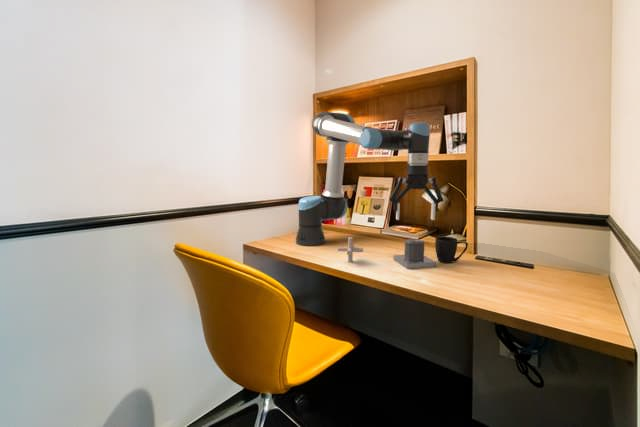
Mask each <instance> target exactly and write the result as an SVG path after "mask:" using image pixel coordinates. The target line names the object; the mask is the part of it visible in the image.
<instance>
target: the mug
mask: <svg viewBox="0 0 640 427" xmlns="http://www.w3.org/2000/svg"><path fill="white" fill-rule="evenodd" d="M458 244H465V247H464V248H463V251H462V252H461V253H460V254H459V255H458V256H456V253H457V251H458V250H457V249H458ZM468 244H469V243H468V242H467V241H458V239H457V238H455V237H452V236H437V237H435V244H434V245H435V254H436V258H437V262H439V263H440V264H447V265H448V264H449V265H450V264H452V263H455V262H457V261H458V260H460V258H461V257H462V255H464V253H465V252H466V251H467V250H468V247H469V245H468Z"/></svg>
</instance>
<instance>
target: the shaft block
mask: <svg viewBox="0 0 640 427" xmlns="http://www.w3.org/2000/svg"><path fill="white" fill-rule="evenodd" d="M404 255H405V254H395V255H394V254H393V257H392V258H393V261H394V262H395V263H398V264H399V265H401V266H402V267H403V268H405V269H407V270H411V269H412V270H413V269H424V268H436V266H437V261H435V260H433V259H431V258H430V257H427V256H426V255H424V259H423V260H421V261H411V260H407V259H405V258H404Z"/></svg>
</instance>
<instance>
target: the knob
mask: <svg viewBox="0 0 640 427" xmlns="http://www.w3.org/2000/svg"><path fill="white" fill-rule="evenodd" d="M403 255H404V258H405V259H407V260H411V261H421V260H423V259H424V256H425V241H424V240H421V239H417V238H410V239H409V238H408V239H405V242H404V254H403Z"/></svg>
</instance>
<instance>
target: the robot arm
mask: <svg viewBox="0 0 640 427" xmlns="http://www.w3.org/2000/svg"><path fill="white" fill-rule="evenodd" d="M311 128H312V131H313V132H314V133H315V135H317V136H319V137H324V138H326V142H327V143H328V152H327V164H326V175H325V177H326V178H325V185H324V186H325V188H324V191H323V192H322V193H321V196H320V195H311V196H305V197H301V198H300V199H299V200H298V207H297V208H298V230H297V232H296V233H297V234H296V237H295V243H296V245H299V246H306V247H307V246H309V247H311V246H313V247H314V246H321V245H324V244H325V243H326V236H325V233H324V230H323V226H322V225H323V224H322V221H330V220H337V219H342V218H343V217H344V216H346V214H347V211H348V202H347V200H346V198H345V195H344V194H343V190H342V189H343V188H342V187H343V180H344V179H343V178H344V170H345V168H344V167H345V159H346V150H347V149H346V147H347V145H349V143H354V144H356V145H359V146H361V147H362V148H363V149H367V150H387V151H401V150H407V164H408V165H407V167H406V168H407V169H406V170H407V172H406V173H407V174H406V178H405V177H400V176H399V177H398V179H397V184H396V186H395V188H394V189H393V191H392V192H391V195H390V197H389V200H388V201H390V202H391V203H393V211H394V212H395V220H396V221H400V213H401V212H400V211H401V210H400V208H401V207H400V206H401V203H400V201H401V200H402V198H403V197H405V195H406V194H407V193H408V192H409V191H410V190H423V191H424V192H425V193H426V194H427V195H428V197H429V198H430V199H431V201H433V202H431V205H430V206H431V210H430V220H431V221H435V220H436V212H438V210H439V203H442V202H444V198H443V195H442V194H441V191H440V189H439V186H438V184H437V178H436V177H433V176H432V177H428V172H429V166H428V165H427V164H429V149H430V148H429V146H430V138H431V134H430V133H431V132H430V131H431V130H430V129H431V128H430V124H429V123H428V122H413V123H410V124H409V125H408V129H404V130H393V129H384V128H383V129H382V128H381V129H380V128H375V127H370V126H367V125H362V124H358V123H356V121H355V119H354V118H353V117H352V116H351V115H350V114H346V113H343V112H342V113H340V112H332V111H331V112H330V111H320V112H318V113H317V114H316V115H315V116H314V117H313V118H312V121H311ZM404 183H406V184H407V185H406V186H405V187H404V188H403V190H402V191H401V192H400V193H399V191H400V189H401V187H402V185H403V184H404ZM428 183H429V184H431V187H432V189H433V191H434V193H435V195H434V194H433V192H432V191H431V190H430V188H429V186H428V185H427V184H428ZM398 193H399V194H398Z"/></svg>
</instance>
